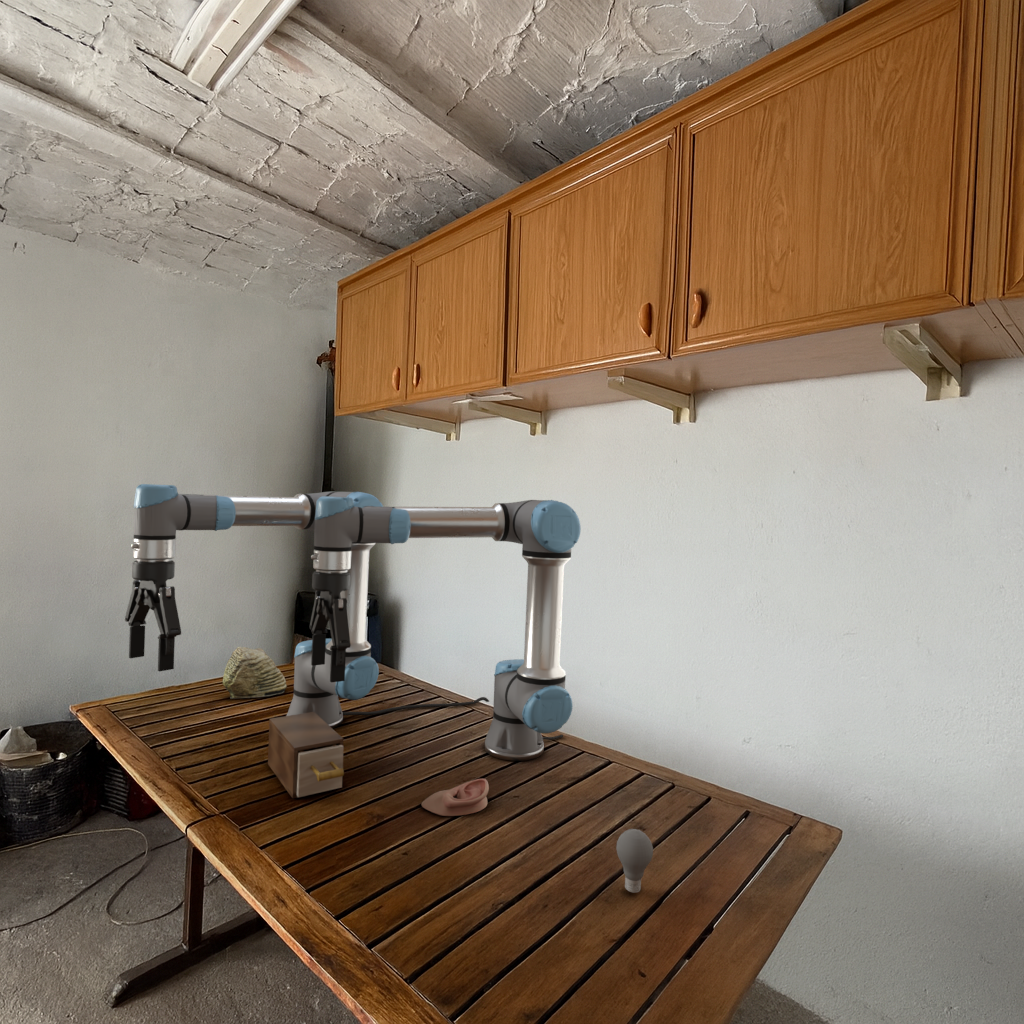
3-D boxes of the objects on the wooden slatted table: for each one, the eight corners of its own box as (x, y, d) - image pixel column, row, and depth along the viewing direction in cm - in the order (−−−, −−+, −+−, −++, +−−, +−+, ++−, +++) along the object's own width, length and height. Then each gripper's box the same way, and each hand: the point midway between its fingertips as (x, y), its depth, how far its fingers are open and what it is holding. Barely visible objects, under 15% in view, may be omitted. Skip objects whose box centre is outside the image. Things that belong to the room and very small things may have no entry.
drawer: (352, 799, 131) (354, 756, 131) (307, 810, 126) (309, 765, 126) (314, 756, 152) (315, 719, 152) (274, 764, 146) (275, 726, 146)
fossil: (218, 695, 195) (220, 647, 195) (278, 685, 208) (279, 640, 207) (228, 703, 189) (230, 653, 188) (289, 692, 201) (290, 645, 201)
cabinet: (341, 787, 138) (343, 738, 138) (292, 798, 132) (294, 747, 132) (312, 755, 155) (314, 711, 154) (267, 764, 149) (269, 718, 148)
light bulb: (610, 879, 108) (613, 822, 108) (644, 879, 109) (647, 822, 109) (619, 902, 102) (622, 840, 102) (655, 901, 103) (658, 840, 103)
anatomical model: (416, 792, 129) (434, 769, 140) (415, 812, 129) (434, 787, 140) (479, 801, 126) (493, 777, 137) (479, 821, 126) (492, 795, 137)
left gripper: (109, 555, 134) (106, 655, 134) (162, 566, 118) (158, 679, 119) (147, 553, 140) (144, 649, 140) (202, 564, 124) (198, 672, 125)
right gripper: (297, 564, 140) (293, 660, 140) (331, 579, 119) (326, 691, 119) (331, 564, 144) (327, 656, 144) (370, 578, 123) (365, 686, 123)
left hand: (150, 663), depth 129 cm, fingers open, 13 cm apart
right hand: (327, 672), depth 132 cm, fingers open, 13 cm apart
